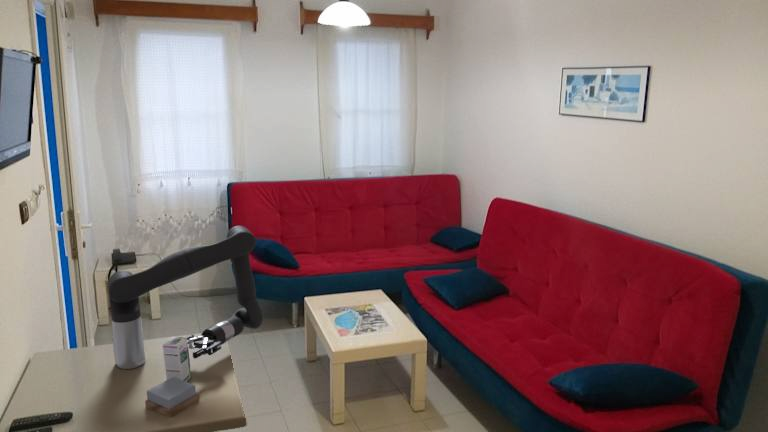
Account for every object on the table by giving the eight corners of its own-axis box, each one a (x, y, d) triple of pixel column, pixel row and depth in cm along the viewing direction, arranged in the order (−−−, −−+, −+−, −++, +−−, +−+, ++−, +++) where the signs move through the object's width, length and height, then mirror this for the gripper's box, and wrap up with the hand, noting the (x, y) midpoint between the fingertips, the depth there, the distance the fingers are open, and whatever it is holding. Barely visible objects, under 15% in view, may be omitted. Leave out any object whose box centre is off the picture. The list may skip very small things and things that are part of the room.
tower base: (146, 409, 180) (145, 400, 179) (174, 392, 189) (173, 384, 189) (171, 419, 175) (171, 410, 174) (199, 401, 184) (198, 392, 184)
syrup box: (182, 386, 192) (178, 345, 189) (166, 384, 193) (162, 343, 190) (191, 377, 198) (188, 337, 194) (175, 375, 199) (171, 335, 195)
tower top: (147, 399, 180) (146, 390, 179) (174, 385, 188) (173, 376, 187) (169, 409, 175) (168, 400, 174) (195, 394, 183) (195, 385, 182)
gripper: (202, 320, 213) (167, 338, 199) (233, 328, 206) (199, 347, 192) (204, 340, 214) (169, 358, 200) (234, 348, 208) (200, 368, 194)
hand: (184, 353), depth 196 cm, fingers open, 8 cm apart
